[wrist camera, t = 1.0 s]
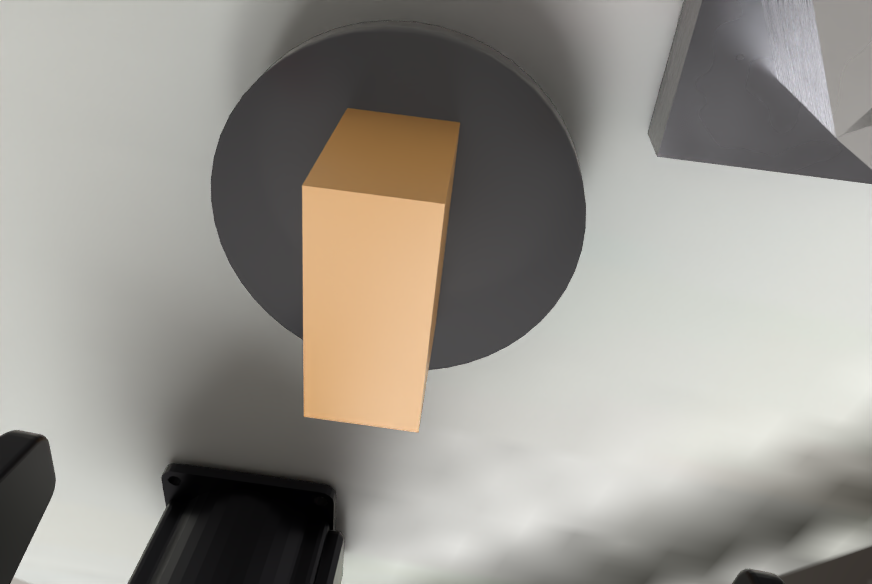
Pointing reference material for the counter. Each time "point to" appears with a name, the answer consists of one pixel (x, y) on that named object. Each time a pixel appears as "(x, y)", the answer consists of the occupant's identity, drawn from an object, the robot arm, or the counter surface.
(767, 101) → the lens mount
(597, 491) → the counter surface
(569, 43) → the counter surface
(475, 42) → the disc with orange block
